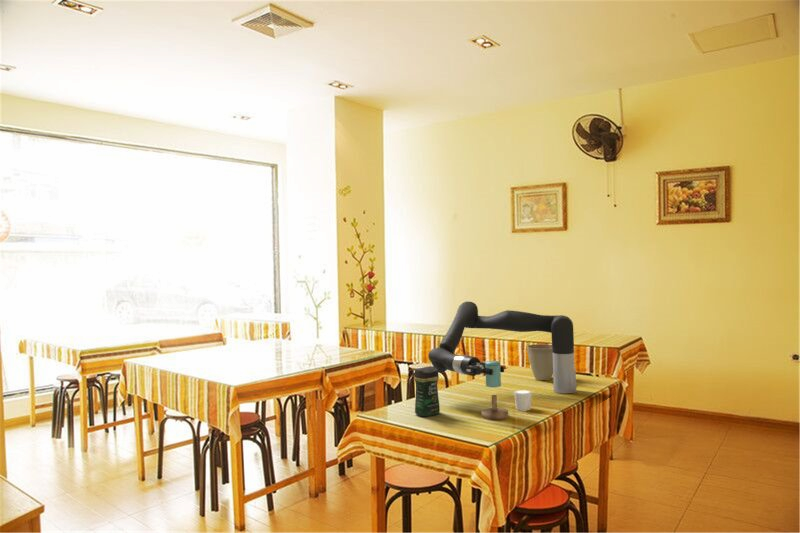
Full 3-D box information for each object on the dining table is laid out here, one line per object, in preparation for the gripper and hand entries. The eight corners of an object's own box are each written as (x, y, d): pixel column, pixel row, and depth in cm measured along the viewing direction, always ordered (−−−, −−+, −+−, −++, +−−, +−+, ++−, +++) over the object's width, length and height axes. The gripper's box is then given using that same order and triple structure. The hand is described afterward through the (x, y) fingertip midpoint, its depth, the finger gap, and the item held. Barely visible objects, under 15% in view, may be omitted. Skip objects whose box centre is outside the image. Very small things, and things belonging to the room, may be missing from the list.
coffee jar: (425, 418, 220) (423, 370, 219) (412, 414, 226) (410, 367, 226) (443, 413, 226) (441, 366, 225) (430, 409, 232) (428, 364, 232)
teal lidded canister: (500, 383, 221) (499, 360, 221) (501, 387, 216) (500, 363, 215) (485, 383, 222) (485, 360, 222) (486, 387, 216) (485, 363, 216)
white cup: (522, 412, 223) (521, 394, 223) (510, 408, 229) (510, 391, 229) (535, 409, 226) (535, 392, 226) (524, 405, 232) (523, 388, 232)
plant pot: (557, 383, 269) (556, 349, 268) (525, 381, 274) (524, 348, 274) (560, 376, 283) (559, 344, 282) (530, 375, 288) (528, 343, 288)
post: (507, 412, 223) (506, 392, 223) (509, 420, 213) (508, 398, 213) (481, 412, 224) (480, 392, 224) (482, 420, 215) (481, 399, 214)
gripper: (453, 358, 225) (484, 363, 212) (478, 353, 234) (510, 358, 221) (453, 377, 226) (485, 384, 212) (479, 371, 234) (511, 377, 221)
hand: (497, 370), depth 217 cm, fingers closed on teal lidded canister, 5 cm apart
